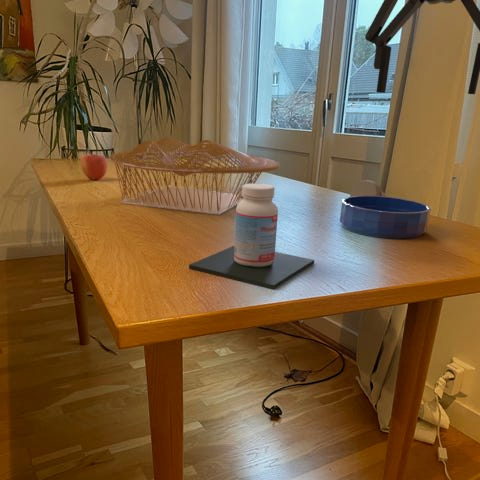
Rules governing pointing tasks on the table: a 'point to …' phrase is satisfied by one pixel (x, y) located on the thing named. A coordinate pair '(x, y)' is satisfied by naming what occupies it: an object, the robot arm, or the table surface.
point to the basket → (182, 196)
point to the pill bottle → (256, 226)
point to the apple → (94, 166)
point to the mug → (366, 189)
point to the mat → (253, 268)
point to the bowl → (384, 216)
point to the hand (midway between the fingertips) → (424, 93)
